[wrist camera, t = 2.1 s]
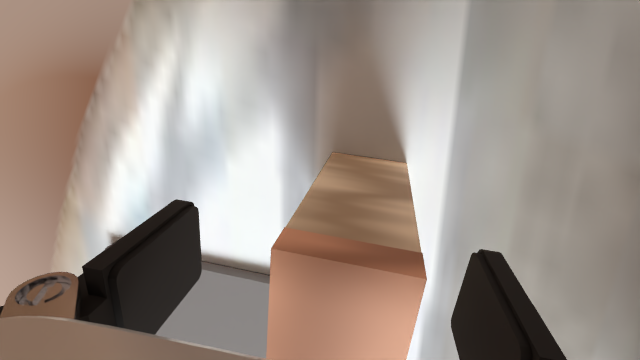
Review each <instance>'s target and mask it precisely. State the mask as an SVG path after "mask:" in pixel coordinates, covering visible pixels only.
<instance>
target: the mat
mask: <svg viewBox="0 0 640 360" xmlns="http://www.w3.org/2000/svg"><path fill="white" fill-rule="evenodd" d="M113 244H114V243H113ZM113 244H111V245H113ZM111 245H110V246H111ZM110 246H108V247H107V248H109V247H110ZM107 248H105V250H106V249H107ZM201 264H202V272H201V276H200V278H199V280H198V281H197V282H196V284H195V285H194V286H193V287H192V289H191V290H190V291H189V292H188V294H187V295H186V296H185V297H184V299H183V300H182V301H181V302H180V304H179V305H178V306H177V307H176V309H175V310H174V311H173V312H172V314H171V315H170V316H169V318H168V319H167V320H166V321H165V323H164V324H163V325H162V326H161V328H160V329H159V330H158V331H157V333H156V334H155V335H158V336H162V337H167V338H172V339H177V340H181V341H186V342H191V343H195V344H200V345H205V346H210V347H214V348H219V349H224V350H228V351H233V352H238V353H242V354H247V355H251V356H256V357H260V358H265V359H266V352H267V330H268V308H269V286H270V275H265V274H260V273H255V272H251V271H246V270H241V269H236V268H232V267H227V266H222V265H217V264H213V263H208V262H203V261H201Z"/></svg>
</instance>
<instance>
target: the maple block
mask: <svg viewBox="0 0 640 360" xmlns="http://www.w3.org/2000/svg"><path fill="white" fill-rule="evenodd" d="M426 280H427V278H426V272H425V266H424V260H423V254H422V253H421V247H420V241H419V235H418V229H417V223H416V217H415V211H414V205H413V199H412V193H411V186H410V180H409V174H408V168H407V163H403V162H396V161H389V160H382V159H376V158H369V157H362V156H355V155H348V154H341V153H335V152H332V154H331V156H330V157H329V159H328V160H327V162H326V164H325V165H324V167H323V168H322V170H321V172H320V173H319V175H318V176H317V178H316V180H315V181H314V183H313V184H312V186H311V188H310V189H309V191H308V192H307V194H306V196H305V197H304V199H303V200H302V202H301V204H300V205H299V207H298V208H297V210H296V212H295V213H294V215H293V216H292V218H291V220H290V221H289V223H288V224H287V226H286V227H284V229H283V231H282V232H281V234H280V235H279V237H278V239H277V240H276V242H275V243H274V245H273V246H272V248H271V264H270V286H269V308H268V330H267V352H266V359H270V360H406V358H407V354H408V350H409V346H410V343H411V339H412V335H413V331H414V327H415V323H416V319H417V315H418V311H419V308H420V304H421V300H422V296H423V292H424V288H425V284H426Z"/></svg>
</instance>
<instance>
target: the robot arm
mask: <svg viewBox="0 0 640 360" xmlns="http://www.w3.org/2000/svg"><path fill="white" fill-rule="evenodd" d="M82 268H83V274H81V275H80V276H79V277H77V276H75V275H74V274H72V273H68V272H53V273H47V274H44V275H40V276H37V277H34V278H32V279H29V280H27V281H25V282H24V283H22V284H20V285H19V286H17V287H16V288H15V289H14V290H13V291H11V293H10V294H9V296H8V297H7V299H6V302H5V305H4V306H1V307H0V360H270V359H265V358H260V357H256V356H251V355H247V354H242V353H238V352H233V351H228V350H224V349H219V348H214V347H210V346H205V345H200V344H195V343H191V342H186V341H181V340H177V339H172V338H167V337H162V336H158V335H155V334H156V333H157V331H158V330H159V329H160V328H161V326H162V325H163V324H164V323H165V321H166V320H167V319H168V318H169V316H170V315H171V314H172V312H173V311H174V310H175V309H176V307H177V306H178V305H179V304H180V302H181V301H182V300H183V299H184V297H185V296H186V295H187V294H188V292H189V291H190V290H191V289H192V287H193V286H194V285H195V284H196V282H197V281H198V280H199V278H200V276H201V272H202V264H201V246H200V229H199V212H198V208H197V207H195V206H194V204H193V203H192V202H188V201H182V200H174V201H173V202H171V203H170V204H168V205H167V206H166V207H164V208H163V209H161V210H160V211H159V212H157V213H156V214H154V215H153V216H152V217H150V218H149V219H148V220H146V221H145V222H143V223H142V224H141V225H139V226H138V227H136V228H135V229H134V230H132V231H131V232H129V233H128V234H127V235H125V236H124V237H122V238H121V239H120V240H118V241H117V242H116V243H114V244H113V245H111V246H110V247H109V248H107V249H106V250H104V251H103V252H102V253H100V254H99V255H97V256H96V257H95V258H93V259H92V260H91V261H89V262H88V263H86V264H85V265H84V266H82ZM451 328H452V332H453V336H454V340H455V344H456V347H457V351H458V355H459V359H460V360H567V359H566V357H565V356H564V354H563V352H562V351H561V349H560V348H559V346H558V344H557V343H556V341H555V339H554V338H553V336H552V335H551V333H550V331H549V330H548V328H547V326H546V325H545V323H544V322H543V320H542V318H541V317H540V315H539V313H538V312H537V310H536V309H535V307H534V305H533V304H532V303H531V301H530V299H529V298H528V296H527V295H526V293H525V291H524V290H523V288H522V286H521V285H520V283H519V281H518V280H517V278H516V277H515V275H514V273H513V272H512V270H511V268H510V267H509V265H508V264H507V262H506V260H505V259H504V257H503V255H502V254H501V253H500V252H495V251H489V250H483V249H480V250H479V251H478V253H472V255H471V257H470V261H469V264H468V267H467V270H466V273H465V277H464V280H463V283H462V286H461V289H460V292H459V296H458V299H457V302H456V305H455V308H454V311H453V315H452V318H451Z"/></svg>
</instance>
